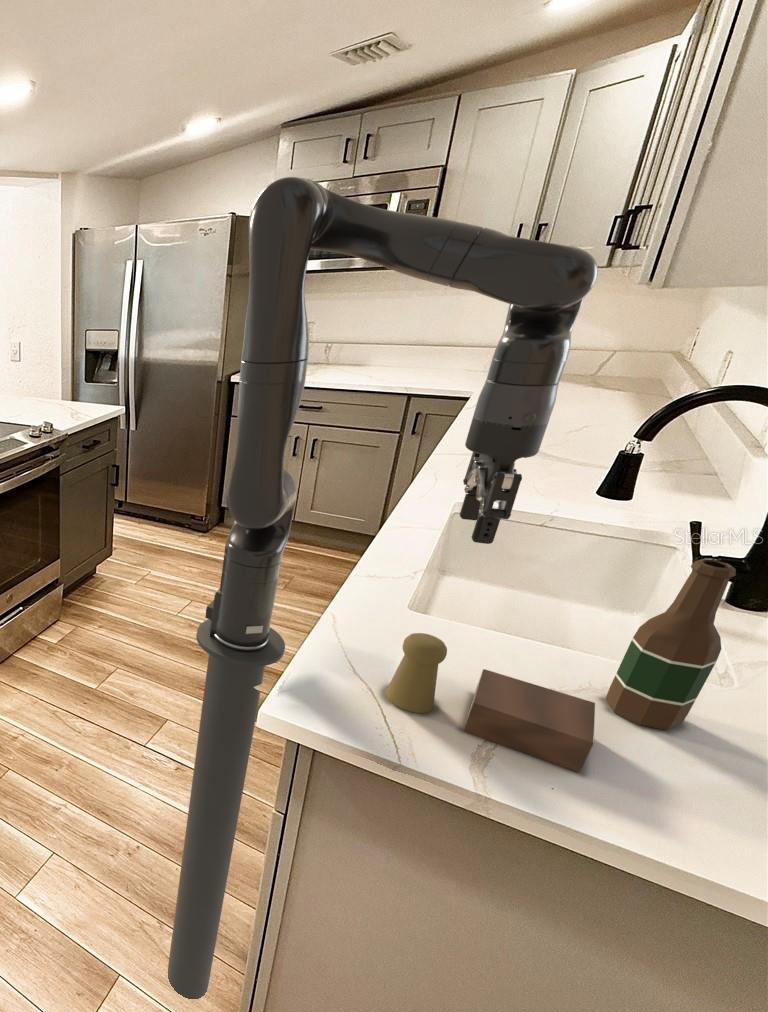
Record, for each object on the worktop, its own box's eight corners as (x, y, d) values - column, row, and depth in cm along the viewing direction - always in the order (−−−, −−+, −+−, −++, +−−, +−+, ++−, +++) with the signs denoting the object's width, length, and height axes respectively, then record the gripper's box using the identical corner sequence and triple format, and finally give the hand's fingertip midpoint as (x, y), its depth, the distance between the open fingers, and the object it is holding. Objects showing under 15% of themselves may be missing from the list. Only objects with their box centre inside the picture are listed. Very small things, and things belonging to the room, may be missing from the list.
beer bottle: (679, 740, 83) (764, 584, 73) (600, 712, 88) (669, 564, 78) (683, 712, 87) (763, 562, 77) (607, 688, 93) (673, 545, 83)
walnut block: (463, 731, 86) (473, 702, 84) (473, 695, 93) (483, 668, 91) (579, 773, 78) (593, 743, 76) (581, 731, 85) (595, 702, 83)
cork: (376, 693, 94) (392, 633, 90) (402, 682, 96) (419, 623, 92) (416, 717, 89) (435, 655, 84) (442, 705, 91) (463, 643, 87)
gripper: (464, 403, 86) (434, 509, 93) (486, 427, 75) (450, 546, 82) (532, 405, 83) (496, 515, 90) (566, 431, 72) (522, 555, 78)
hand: (474, 530), depth 86 cm, fingers open, 8 cm apart
